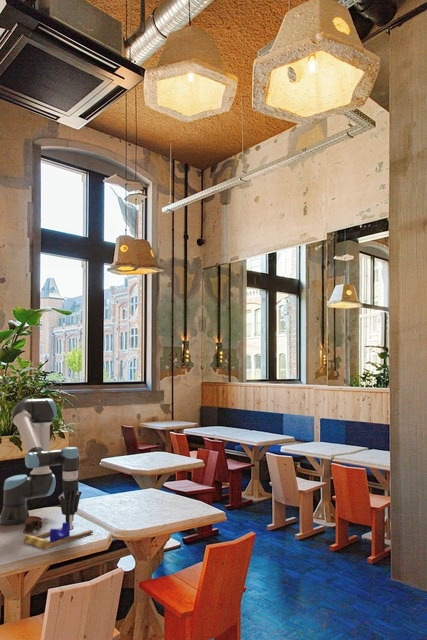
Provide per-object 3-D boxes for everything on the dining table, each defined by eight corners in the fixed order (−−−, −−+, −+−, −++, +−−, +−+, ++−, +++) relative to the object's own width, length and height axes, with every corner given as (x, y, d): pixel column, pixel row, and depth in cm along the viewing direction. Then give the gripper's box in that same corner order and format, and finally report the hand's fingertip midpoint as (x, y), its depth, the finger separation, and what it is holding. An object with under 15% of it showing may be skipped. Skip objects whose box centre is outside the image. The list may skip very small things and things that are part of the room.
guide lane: (23, 541, 240) (24, 535, 240) (70, 527, 262) (70, 521, 262) (45, 549, 230) (46, 542, 230) (92, 533, 252) (92, 527, 252)
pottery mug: (17, 533, 255) (22, 516, 260) (32, 537, 261) (37, 521, 266) (32, 530, 249) (36, 513, 254) (47, 535, 255) (51, 518, 260)
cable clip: (61, 534, 251) (61, 522, 251) (69, 535, 249) (69, 522, 250) (47, 542, 239) (47, 529, 240) (55, 543, 238) (55, 529, 238)
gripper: (64, 482, 246) (63, 533, 243) (85, 477, 256) (84, 526, 254) (54, 480, 250) (53, 530, 248) (75, 476, 261) (75, 523, 258)
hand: (69, 528), depth 251 cm, fingers closed
